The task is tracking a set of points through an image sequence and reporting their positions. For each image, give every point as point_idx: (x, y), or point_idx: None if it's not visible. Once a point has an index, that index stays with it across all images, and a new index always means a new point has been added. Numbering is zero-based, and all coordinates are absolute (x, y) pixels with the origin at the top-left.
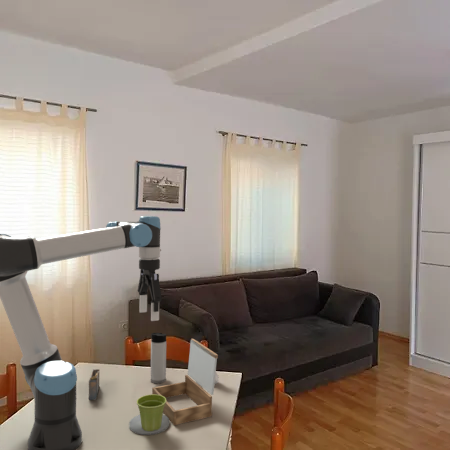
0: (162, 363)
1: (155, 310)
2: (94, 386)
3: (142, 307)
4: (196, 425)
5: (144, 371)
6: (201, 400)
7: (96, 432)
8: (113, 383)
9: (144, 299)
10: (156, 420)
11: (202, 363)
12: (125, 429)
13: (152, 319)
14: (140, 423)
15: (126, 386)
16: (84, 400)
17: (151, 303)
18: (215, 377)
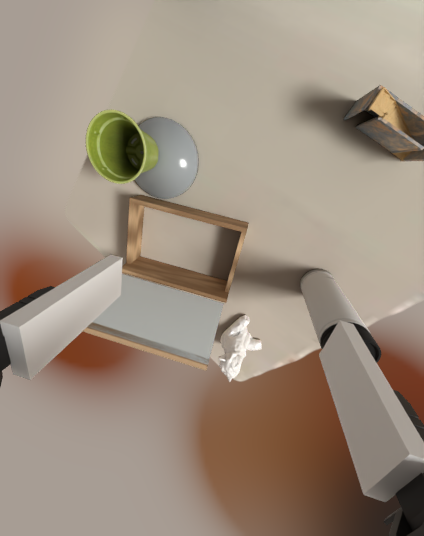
0: (308, 303)
1: (38, 295)
2: (359, 107)
3: (343, 358)
4: (123, 223)
5: (384, 291)
6: (159, 269)
7: (193, 44)
8: (389, 201)
9: (358, 429)
10: (113, 149)
11: (145, 313)
12: (172, 110)
13: (104, 261)
14: (164, 142)
15: (346, 217)
16: (362, 88)
17: (21, 318)
18: (221, 342)
